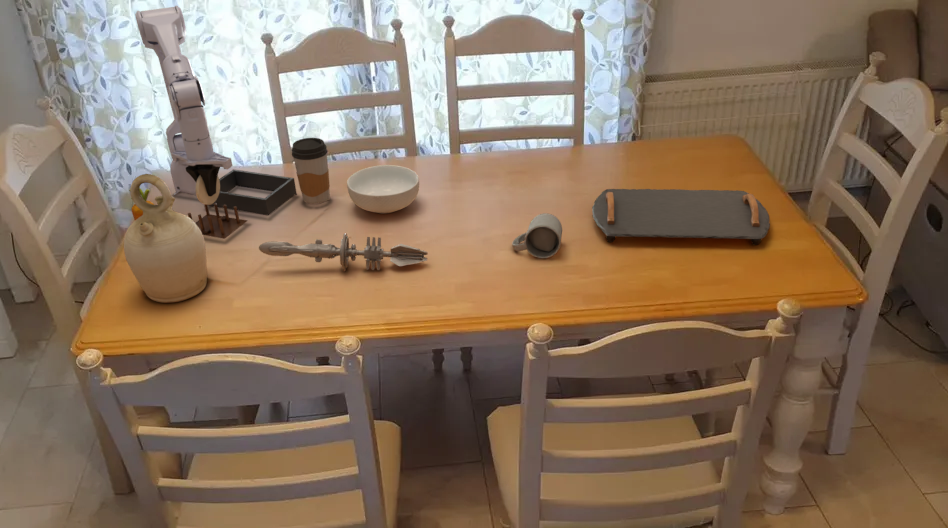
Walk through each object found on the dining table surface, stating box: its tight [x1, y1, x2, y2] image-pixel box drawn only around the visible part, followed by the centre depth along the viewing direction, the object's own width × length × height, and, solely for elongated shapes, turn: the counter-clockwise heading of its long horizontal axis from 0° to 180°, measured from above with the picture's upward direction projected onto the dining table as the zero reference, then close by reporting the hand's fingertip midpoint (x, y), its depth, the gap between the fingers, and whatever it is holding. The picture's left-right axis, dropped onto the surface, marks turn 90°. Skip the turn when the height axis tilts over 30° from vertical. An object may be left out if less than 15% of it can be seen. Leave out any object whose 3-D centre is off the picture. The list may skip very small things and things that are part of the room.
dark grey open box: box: [208, 168, 298, 216], centre depth 205 cm, size 18×13×5 cm
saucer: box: [196, 175, 220, 205], centre depth 189 cm, size 1×8×8 cm, turn 159°
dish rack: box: [187, 203, 248, 240], centre depth 194 cm, size 11×9×5 cm
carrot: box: [128, 188, 155, 221], centre depth 184 cm, size 5×5×15 cm
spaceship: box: [258, 232, 428, 272], centre depth 176 cm, size 8×35×8 cm
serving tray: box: [591, 188, 771, 246], centre depth 189 cm, size 39×23×6 cm, turn 84°
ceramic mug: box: [511, 212, 563, 259], centre depth 181 cm, size 11×8×8 cm
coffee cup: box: [291, 137, 331, 205], centre depth 201 cm, size 8×8×15 cm
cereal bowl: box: [346, 164, 420, 215], centre depth 200 cm, size 17×17×7 cm
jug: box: [123, 173, 208, 304], centre depth 168 cm, size 15×16×25 cm
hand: (209, 194), depth 190 cm, fingers closed on saucer, 1 cm apart
